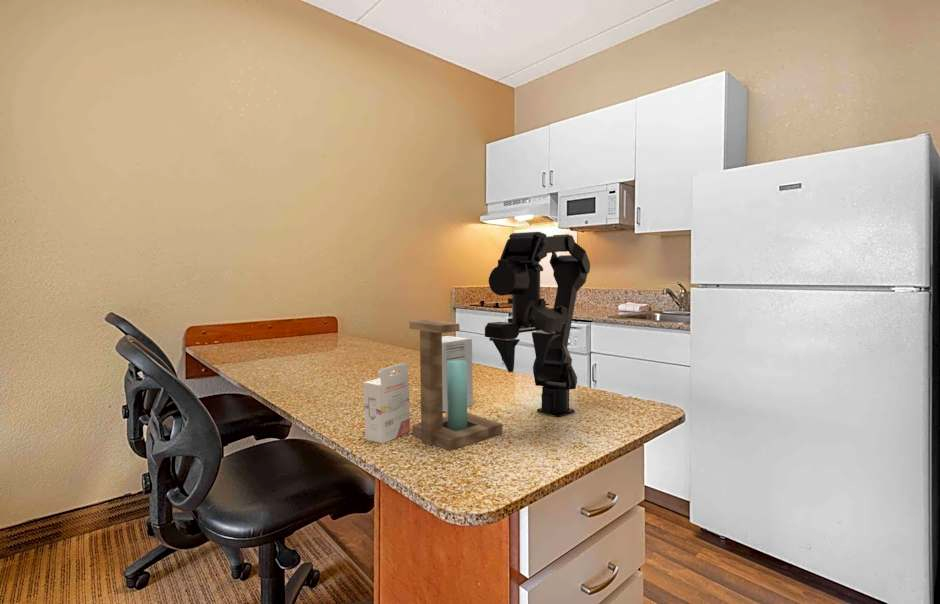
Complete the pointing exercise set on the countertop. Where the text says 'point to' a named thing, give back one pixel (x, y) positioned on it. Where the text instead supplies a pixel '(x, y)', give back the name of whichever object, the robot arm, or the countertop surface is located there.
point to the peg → (457, 394)
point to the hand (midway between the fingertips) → (526, 368)
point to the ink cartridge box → (387, 405)
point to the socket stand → (432, 419)
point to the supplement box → (456, 351)
